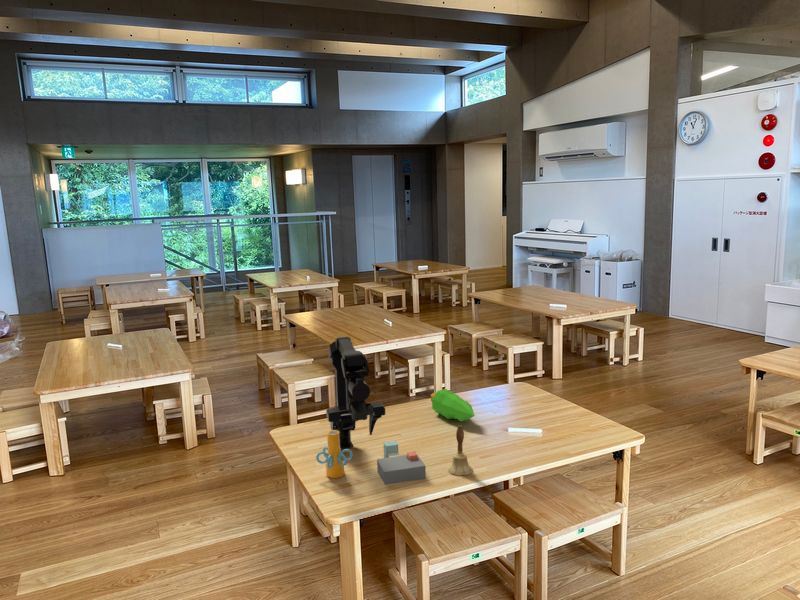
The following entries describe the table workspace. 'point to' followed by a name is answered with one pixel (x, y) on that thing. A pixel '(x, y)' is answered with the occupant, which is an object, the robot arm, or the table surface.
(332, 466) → the orange vase with handles
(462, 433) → the hand bell
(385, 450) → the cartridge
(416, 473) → the housing
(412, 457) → the plunger
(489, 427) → the table surface
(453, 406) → the decorative tree
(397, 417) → the table surface
